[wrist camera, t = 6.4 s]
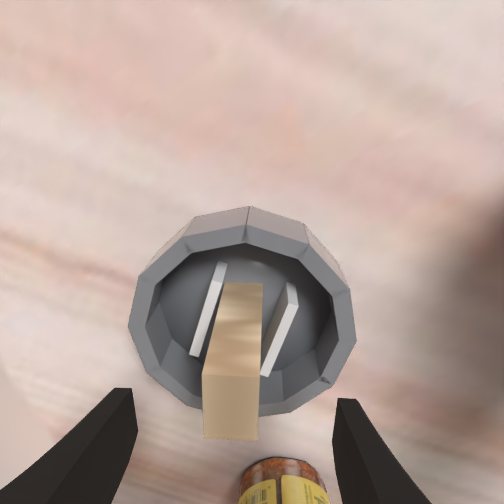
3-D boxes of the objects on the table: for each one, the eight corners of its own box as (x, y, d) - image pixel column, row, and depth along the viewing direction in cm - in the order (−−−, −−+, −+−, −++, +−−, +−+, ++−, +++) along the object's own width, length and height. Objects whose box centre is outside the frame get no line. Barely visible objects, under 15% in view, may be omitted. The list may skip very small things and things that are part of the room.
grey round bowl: (374, 246, 18) (393, 271, 15) (301, 396, 22) (305, 438, 19) (174, 181, 17) (156, 195, 15) (134, 349, 21) (114, 385, 18)
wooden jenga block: (262, 283, 19) (259, 377, 12) (260, 331, 20) (257, 441, 13) (225, 281, 19) (201, 374, 12) (225, 329, 20) (203, 438, 13)
